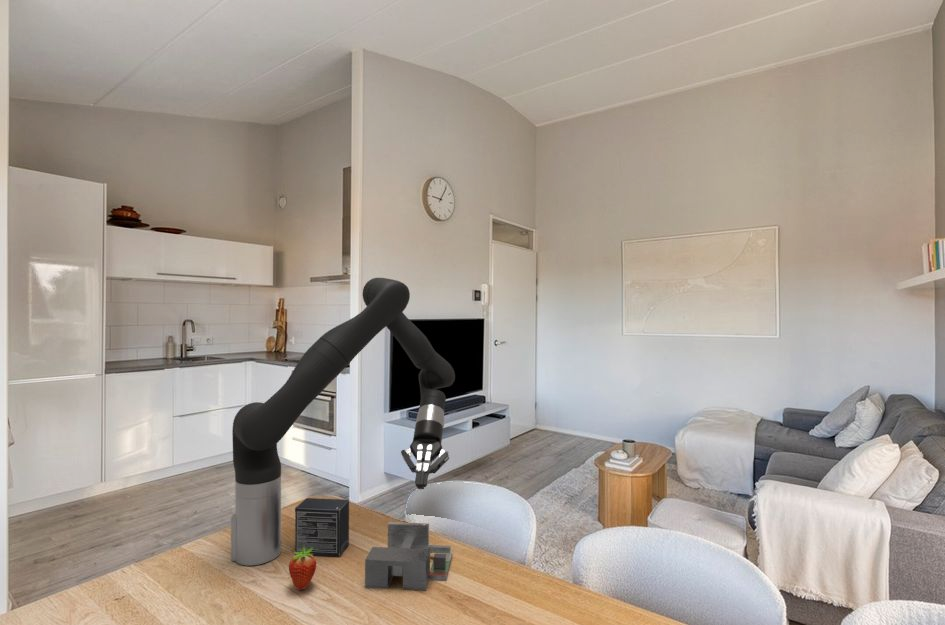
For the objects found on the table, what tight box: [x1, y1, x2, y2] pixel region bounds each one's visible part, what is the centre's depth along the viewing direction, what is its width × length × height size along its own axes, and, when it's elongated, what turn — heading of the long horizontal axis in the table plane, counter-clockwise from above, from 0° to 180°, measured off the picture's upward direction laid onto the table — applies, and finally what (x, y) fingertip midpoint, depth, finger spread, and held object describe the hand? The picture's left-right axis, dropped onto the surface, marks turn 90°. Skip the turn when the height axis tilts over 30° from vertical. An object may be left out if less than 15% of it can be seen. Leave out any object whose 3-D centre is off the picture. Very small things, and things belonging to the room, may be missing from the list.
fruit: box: [288, 546, 317, 591], centre depth 93 cm, size 5×5×8 cm
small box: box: [294, 497, 350, 558], centre depth 108 cm, size 11×6×10 cm, turn 84°
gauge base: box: [364, 546, 453, 592], centre depth 100 cm, size 16×14×6 cm
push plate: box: [387, 521, 452, 577], centre depth 100 cm, size 14×11×7 cm
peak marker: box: [433, 553, 446, 569], centre depth 99 cm, size 2×2×2 cm, turn 85°
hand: (420, 487), depth 118 cm, fingers closed
